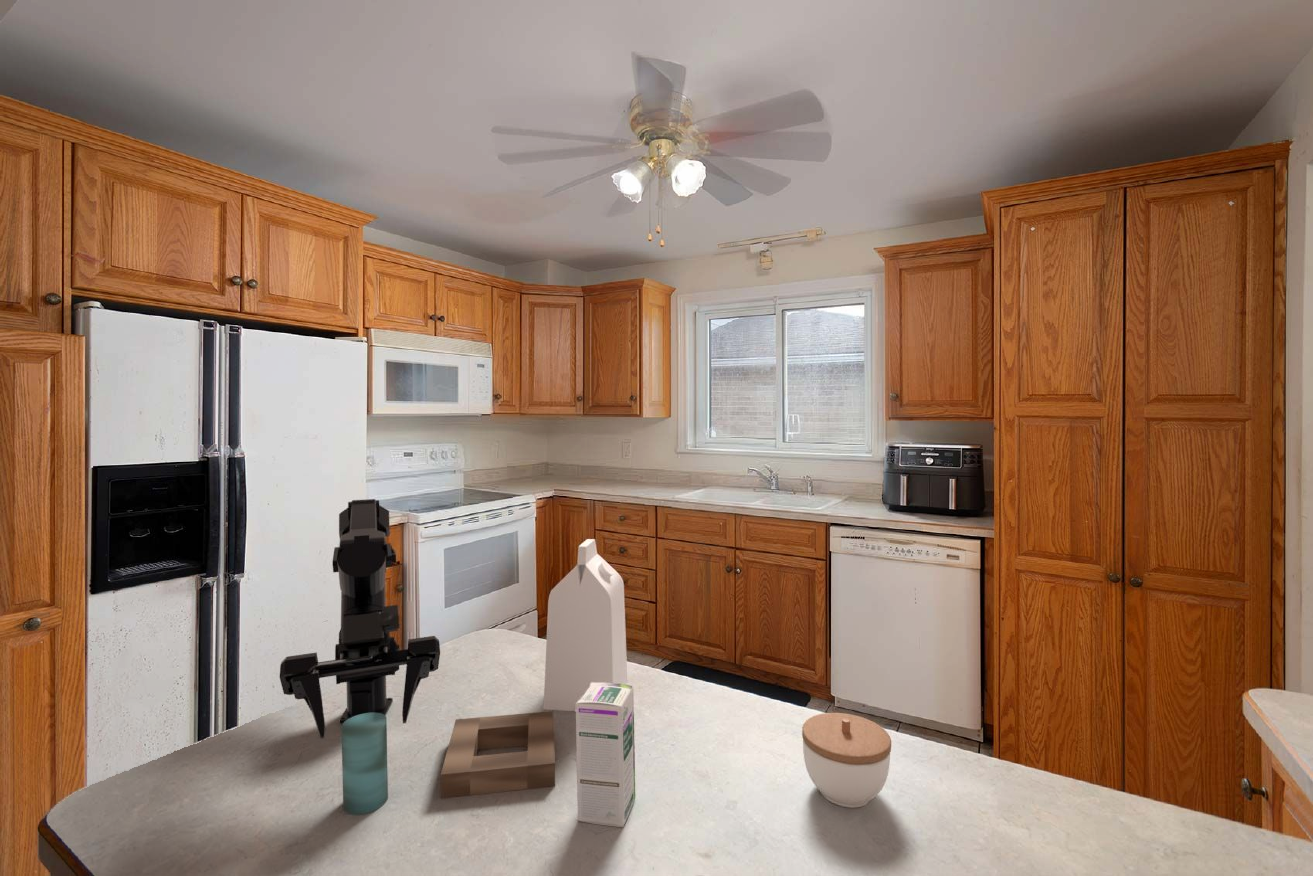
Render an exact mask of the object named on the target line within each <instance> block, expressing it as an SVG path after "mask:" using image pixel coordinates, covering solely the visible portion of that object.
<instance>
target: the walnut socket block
mask: <svg viewBox="0 0 1313 876" xmlns="http://www.w3.org/2000/svg"><path fill="white" fill-rule="evenodd" d="M554 730H555V729H554V710H550V711H548V710H547V711H540V712H538V711H537V712H528V713H527V712H526V713H517V714H514V713H513V714H504V715H492V716H483V717H482V716H480V717H479V716H478V717H470V718H457V719H455V721H454V725H453V728H452V733H451V735H450V738H449V742H448V747H447V750H446V754H445V758H444V760H443V761H444V762H443V765H442V768H441V772H440V798H441V799H445V798H447V799H448V798H455V797H457V798H458V797H463V796H473V795H474V796H475V795H483V794H491V793H493V794H495V793H503V792H510V791H518V790H519V791H521V790H529V789H531V790H532V789H538V788H539V789H540V788H547V787H549V788H550V787H555V786H556V761H555V760H556V759H555V758H556V753H555V734H554V733H555V731H554ZM523 746H527V750H526V751H514V752H513V751H512V752H504V753H496V754H483V755H479V754H478V753H479V751H480V750H481V751H482V750H492V749H503V748H513V747H523Z"/></svg>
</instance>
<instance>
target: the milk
mask: <svg viewBox="0 0 1313 876" xmlns="http://www.w3.org/2000/svg"><path fill="white" fill-rule="evenodd" d="M577 549H578V550H577V563H576V565H575V566H574V568H572V569H571V571H569V572H568V573H567V574H566V575H565V576H564V577H563V578H562V579H561V580H560V581H559V582H558V583H557V584H556V585H555V586H554V587H553V588H552V589H551V590H550V593H549V596H548V601H547V618H546V619H547V620H546V621H547V623H546V626H547V627H546V643H545V645H546V646H545V647H546V648H545V665H544V667H545V669H544V670H545V671H544V687H543V689H544V690H543V691H544V692H543V710H547V711H548V710H550V711H562V712H576V705H575V704H576V703H577V701H578V700H579V699H580V697H581V696H582V694H583V693H584V692H585V691H586V690H587V688H588V687H589V685H590V683H591V682H593V683H617V684H624V685H628V684H627V683H628V664H627V663H628V659H627V634H626V609H625V607H626V605H625V584H624V580H623V577H622V576H621V575H620V573H618V571H617V570H616V569H615V568H613V567H612V566H611V564H609V563H608V562H607V561H606V559H604V558H603V557H602V556H601V555H600V554H598V551H597V550H598V549H597V544H596V539H595V538H592V539H591V538H588V539H587V538H586V539H585V541H583V542H582V543H581V544H579V546H578V548H577Z"/></svg>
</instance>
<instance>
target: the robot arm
mask: <svg viewBox="0 0 1313 876" xmlns="http://www.w3.org/2000/svg"><path fill="white" fill-rule="evenodd" d="M347 505H348V506H347V508H345V509H344V510H342V511H341V512H340V513H338V534H339V535H338V536H339V544H338V545H339V546H337V547H336V546H335V547H334V548H333V549H334V550H333V557H332V573H338V580H339V588H340V592H341V594H340V595H341V596H340V597H341V598H340V630H339V632H338V643H336V644H335V645H334V646H335V647H334V652H335V653H334V657H335V658H334V659H332V660H326V661H319V658H318V652H311V653H305V654H297V655H290V656H285V658H284V659H283V660H282V661H281V663H280V666H279V668H280V669H279V680H280V684H281V689H282V692H283V695H288V696H292V695H294V698H295V700H304V702H305V703H306V705H307V706H308V708H309V710H310V712H311V714H312V716H313V719H314V722H315V725H316V728H317V731H318V735H319V738H320V739H321V740H325V738H326V723H325V714H324V713H325V711H324V706H323V697H322V690H321V683H320V679H321V678H330V677H333V676H335V682H336V685H340V684H343V683H345V684H346V708H345V710H344V712H343V713H342V714H341V716H340V717H339V723H341V724H343V723H344V722H345V721H346V720H348V719H349V718H351V717H353V716H356V715H359V714H364V713H372V712H375V713H382V714H384V715H385V716H386V717H387V714H388V712H389V710H390V708H391V706H392V704H393V701H394V698H392V697H387V676H395V675H396V672H398V671H399V670H400V666H405V665H406V670H405V679H404V680H405V681H404V689H403V698H402V699H403V700H402V713H401V714H402V724H403V725H404V724H407V721H408V719H409V715H410V714H409V713H410V710H411V706H412V704H413V699H414V696H415V693H416V691H417V690H418V687H419V685H420V683H421V680H424V679H427V678H428V677H429V676H430V672H435V671H437V670H438V669H439V664H440V658H441V657H440V656H441V645H440V640H439V638H437V637H436V635H429V636H423V637H416V638H410V639H408V640H407V641H408V642H407V649H406V648H405V649H400V644H399V643H397V642H396V640H395V636H390V633H392V632H398V631H400V612H399V611H400V608H399V605H398V604H395V605H387V603H386V599H387V598H386V574H387V568H392V566H393V563H397V553H396V552H397V551H396V549H395V548H394V547H393V545H392V544H391V543H392V542H387V541H386V540H387V538H390V530H391V529H390V528H391V527H390V511H389V510H388V509H387V508H385V507H383V506H382V505H380V499H378V500H377V499H376V498H372V499H371V498H370V499H369V498H368V499H352V500H351V501H348V502H347Z"/></svg>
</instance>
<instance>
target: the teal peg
mask: <svg viewBox="0 0 1313 876" xmlns="http://www.w3.org/2000/svg"><path fill="white" fill-rule="evenodd" d="M387 727H388V726H387V715H386V716H385V715H384V714H382V713H375V712H372V713H364V714H359V715H356V716H353V717H351V718H349V719H348V720H346V721H345V722H344V723H341V728H340V729H341V763H342V765H341V768H342V769H341V770H342V775H341V776H342V808H343V811H344V813H346V814H347V815H353V816H359V815H361V816H362V815H365V814H369V813H371V812H372V813H373V812H374V811H377V810H378V809H380V808H381V807H382V806H384V805H385V804H386V803H387V801H388V799H389V787H388V786H389V781H388V780H389V779H388V775H389V774H388V728H387Z"/></svg>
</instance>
